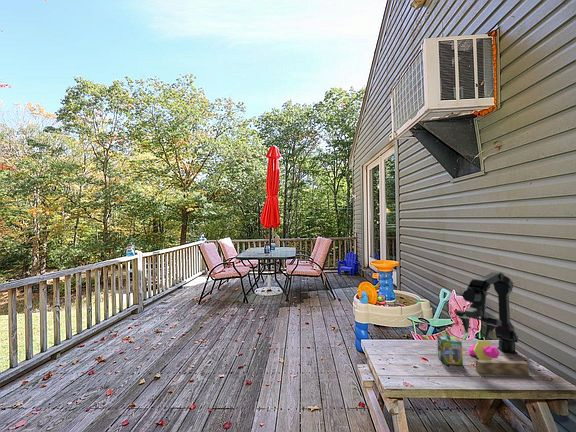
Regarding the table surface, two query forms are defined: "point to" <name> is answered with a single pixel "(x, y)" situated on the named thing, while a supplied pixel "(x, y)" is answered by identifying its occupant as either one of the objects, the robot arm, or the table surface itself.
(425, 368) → the table surface
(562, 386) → the table surface
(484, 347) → the toy
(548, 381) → the table surface
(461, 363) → the chalk box
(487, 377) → the table surface
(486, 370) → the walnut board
